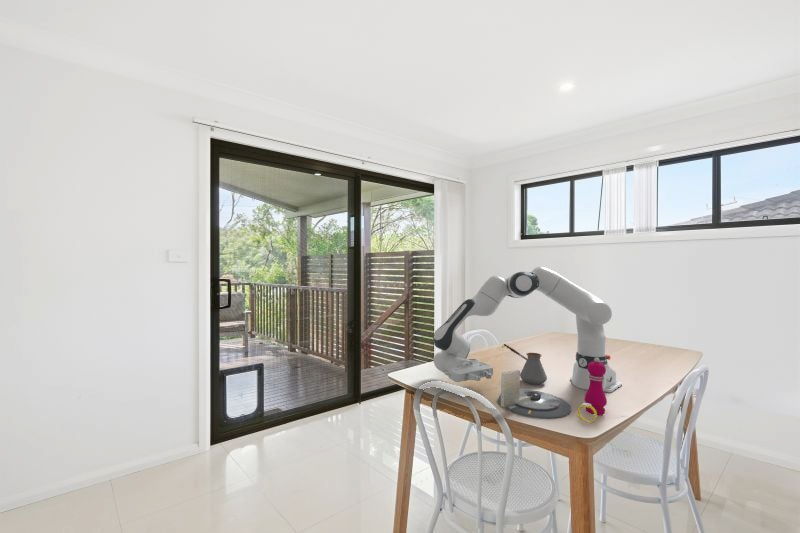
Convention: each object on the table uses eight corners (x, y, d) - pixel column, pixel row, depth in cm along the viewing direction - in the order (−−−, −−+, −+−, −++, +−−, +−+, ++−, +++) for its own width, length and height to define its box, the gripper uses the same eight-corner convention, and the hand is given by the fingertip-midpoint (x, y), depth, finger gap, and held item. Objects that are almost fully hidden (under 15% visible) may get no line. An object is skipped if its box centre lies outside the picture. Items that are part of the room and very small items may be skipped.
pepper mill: (609, 417, 135) (611, 360, 134) (587, 414, 136) (589, 359, 136) (602, 409, 142) (604, 355, 141) (581, 407, 143) (583, 354, 143)
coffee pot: (551, 383, 171) (552, 349, 171) (539, 389, 163) (540, 354, 163) (508, 372, 186) (509, 341, 186) (495, 377, 178) (496, 345, 178)
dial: (530, 390, 158) (531, 358, 157) (569, 404, 142) (570, 369, 142) (484, 401, 144) (485, 366, 144) (522, 419, 129) (523, 380, 128)
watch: (576, 420, 132) (576, 403, 132) (579, 418, 134) (578, 401, 134) (595, 424, 128) (594, 406, 128) (598, 422, 130) (597, 404, 130)
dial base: (528, 388, 163) (528, 385, 163) (585, 409, 141) (585, 406, 141) (484, 399, 149) (484, 396, 149) (539, 424, 127) (540, 420, 127)
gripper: (442, 364, 157) (464, 373, 145) (479, 358, 168) (502, 366, 156) (441, 379, 157) (464, 390, 145) (478, 372, 168) (502, 381, 156)
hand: (484, 377), depth 151 cm, fingers open, 5 cm apart
